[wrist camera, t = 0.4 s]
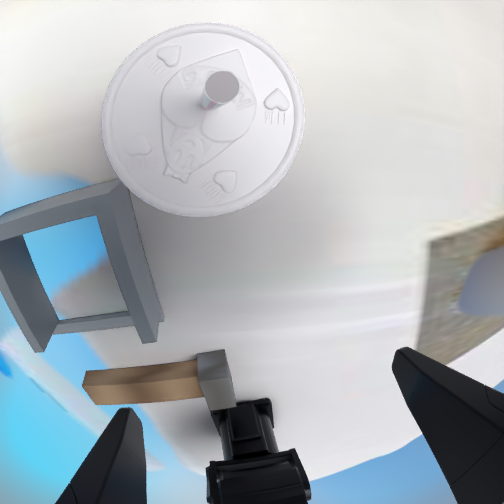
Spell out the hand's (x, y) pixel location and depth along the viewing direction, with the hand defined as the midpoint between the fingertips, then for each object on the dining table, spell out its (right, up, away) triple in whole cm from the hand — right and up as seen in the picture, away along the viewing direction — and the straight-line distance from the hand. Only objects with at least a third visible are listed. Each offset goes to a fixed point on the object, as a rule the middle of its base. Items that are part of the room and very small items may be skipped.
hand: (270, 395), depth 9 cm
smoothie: (-4, +13, +8) cm, 15 cm away
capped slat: (-10, -7, +16) cm, 21 cm away
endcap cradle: (-13, +4, +11) cm, 17 cm away
